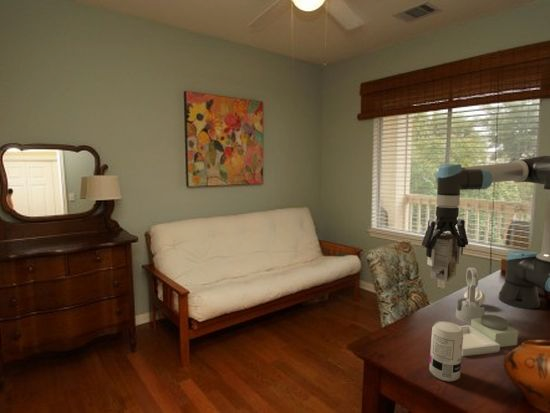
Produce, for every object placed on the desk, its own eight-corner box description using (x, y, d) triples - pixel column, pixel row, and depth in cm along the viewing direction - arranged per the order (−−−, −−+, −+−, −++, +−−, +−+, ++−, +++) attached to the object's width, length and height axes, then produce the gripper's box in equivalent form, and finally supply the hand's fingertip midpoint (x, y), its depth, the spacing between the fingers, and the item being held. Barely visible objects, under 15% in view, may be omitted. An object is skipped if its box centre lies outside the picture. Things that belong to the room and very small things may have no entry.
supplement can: (423, 366, 107) (426, 320, 105) (449, 365, 108) (453, 319, 106) (438, 383, 99) (442, 334, 97) (465, 382, 100) (470, 332, 98)
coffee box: (438, 272, 137) (441, 232, 135) (456, 276, 133) (459, 234, 130) (429, 277, 131) (431, 235, 129) (447, 282, 126) (450, 238, 124)
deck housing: (490, 328, 131) (491, 311, 130) (523, 348, 117) (525, 329, 116) (434, 335, 126) (435, 316, 125) (462, 356, 112) (464, 336, 112)
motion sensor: (459, 303, 154) (461, 286, 153) (473, 301, 156) (474, 285, 155) (474, 310, 146) (476, 293, 145) (488, 308, 148) (490, 291, 147)
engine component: (460, 322, 136) (488, 324, 134) (464, 271, 133) (493, 273, 131) (451, 310, 147) (477, 312, 145) (455, 263, 144) (482, 265, 142)
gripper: (467, 203, 134) (463, 259, 137) (413, 205, 129) (410, 263, 132) (482, 206, 127) (478, 265, 130) (425, 208, 122) (422, 269, 125)
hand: (443, 264), depth 131 cm, fingers closed on coffee box, 11 cm apart
